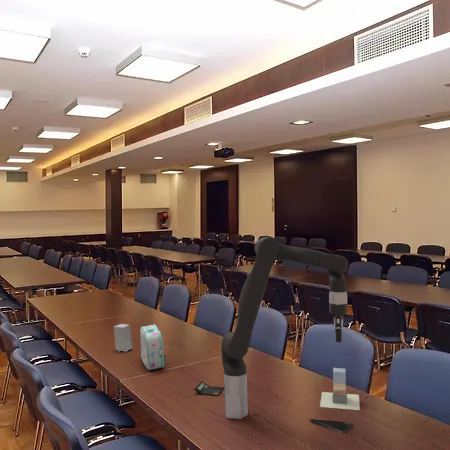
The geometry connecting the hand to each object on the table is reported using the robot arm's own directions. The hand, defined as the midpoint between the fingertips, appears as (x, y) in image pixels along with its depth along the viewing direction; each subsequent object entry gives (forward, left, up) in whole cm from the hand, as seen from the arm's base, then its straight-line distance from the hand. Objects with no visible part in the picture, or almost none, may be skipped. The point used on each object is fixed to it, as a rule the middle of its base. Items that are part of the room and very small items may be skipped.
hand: (338, 339), depth 196 cm
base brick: (0, 0, -27) cm, 27 cm away
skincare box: (+52, +130, -28) cm, 143 cm away
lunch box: (+31, +101, -28) cm, 109 cm away
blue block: (0, 0, -18) cm, 18 cm away
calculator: (+1, +59, -28) cm, 65 cm away
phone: (-21, +3, -28) cm, 35 cm away
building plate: (0, 0, -27) cm, 27 cm away
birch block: (0, 0, -23) cm, 23 cm away
